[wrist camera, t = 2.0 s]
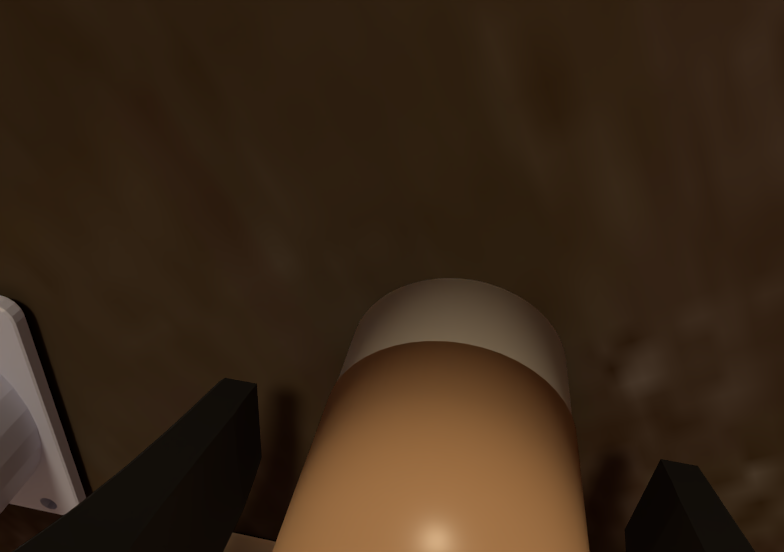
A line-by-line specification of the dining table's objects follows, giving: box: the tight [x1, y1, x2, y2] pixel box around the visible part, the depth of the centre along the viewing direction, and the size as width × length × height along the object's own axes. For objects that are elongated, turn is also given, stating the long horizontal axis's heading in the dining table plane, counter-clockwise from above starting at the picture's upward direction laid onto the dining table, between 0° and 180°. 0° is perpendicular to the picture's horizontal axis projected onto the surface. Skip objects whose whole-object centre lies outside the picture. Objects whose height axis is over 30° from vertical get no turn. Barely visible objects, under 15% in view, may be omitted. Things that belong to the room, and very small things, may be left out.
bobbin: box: [272, 278, 590, 552], centre depth 10 cm, size 5×5×8 cm
